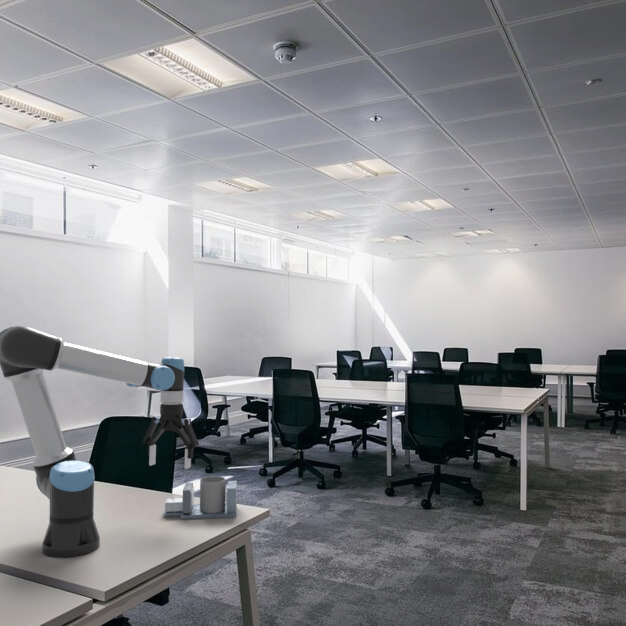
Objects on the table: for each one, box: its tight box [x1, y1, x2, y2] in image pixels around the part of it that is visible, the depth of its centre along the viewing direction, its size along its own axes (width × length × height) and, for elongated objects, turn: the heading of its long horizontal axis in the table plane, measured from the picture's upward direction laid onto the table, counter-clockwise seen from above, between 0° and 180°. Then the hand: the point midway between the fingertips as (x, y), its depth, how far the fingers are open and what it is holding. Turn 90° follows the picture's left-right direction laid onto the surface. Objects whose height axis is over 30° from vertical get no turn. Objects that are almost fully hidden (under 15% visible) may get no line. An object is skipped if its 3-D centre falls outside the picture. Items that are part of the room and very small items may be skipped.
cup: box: [199, 475, 226, 513], centre depth 201 cm, size 8×8×10 cm
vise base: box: [163, 480, 238, 520], centre depth 200 cm, size 12×24×9 cm, turn 97°
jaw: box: [164, 482, 195, 513], centre depth 199 cm, size 10×9×8 cm
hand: (169, 466), depth 199 cm, fingers open, 13 cm apart
